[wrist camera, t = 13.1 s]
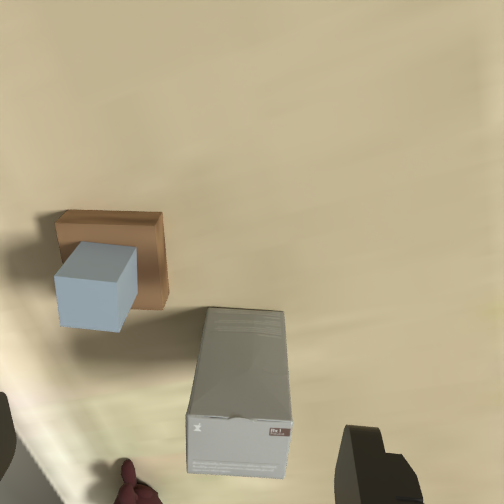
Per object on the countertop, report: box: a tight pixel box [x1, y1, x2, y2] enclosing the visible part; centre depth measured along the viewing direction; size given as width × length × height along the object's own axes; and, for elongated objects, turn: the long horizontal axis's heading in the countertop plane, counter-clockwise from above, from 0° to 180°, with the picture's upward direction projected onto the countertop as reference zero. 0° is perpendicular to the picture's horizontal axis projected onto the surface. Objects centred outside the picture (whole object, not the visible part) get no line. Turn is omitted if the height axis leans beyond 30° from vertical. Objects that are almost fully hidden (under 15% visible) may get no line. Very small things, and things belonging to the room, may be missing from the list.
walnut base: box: [55, 210, 169, 310], centre depth 46 cm, size 9×9×4 cm
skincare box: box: [186, 308, 293, 479], centre depth 44 cm, size 8×7×16 cm
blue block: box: [54, 241, 138, 332], centre depth 42 cm, size 5×5×6 cm
